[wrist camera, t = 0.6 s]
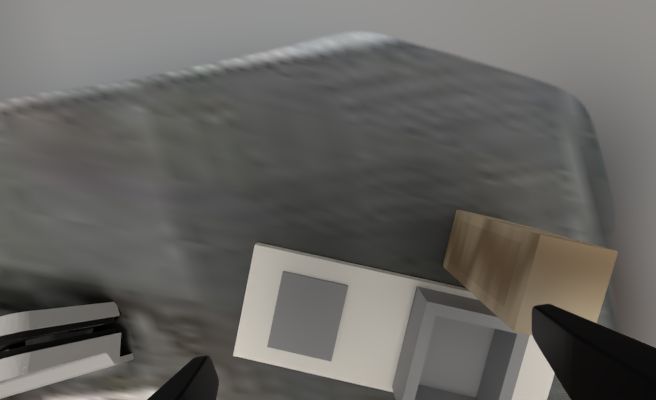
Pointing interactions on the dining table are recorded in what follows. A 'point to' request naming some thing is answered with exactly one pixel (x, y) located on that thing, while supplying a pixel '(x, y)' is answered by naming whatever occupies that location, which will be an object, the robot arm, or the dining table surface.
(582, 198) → the dining table surface
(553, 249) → the tan rectangular block
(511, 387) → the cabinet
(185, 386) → the robot arm
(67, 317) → the white plastic device
